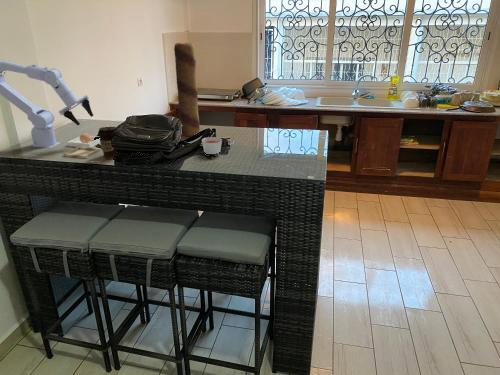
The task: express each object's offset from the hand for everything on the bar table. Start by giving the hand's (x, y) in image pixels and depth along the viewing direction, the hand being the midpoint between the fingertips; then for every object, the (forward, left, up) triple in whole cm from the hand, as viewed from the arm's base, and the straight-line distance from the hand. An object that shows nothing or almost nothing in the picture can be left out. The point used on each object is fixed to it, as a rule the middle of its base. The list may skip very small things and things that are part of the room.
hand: (85, 120), depth 179 cm
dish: (-3, +1, -12) cm, 13 cm away
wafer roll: (+38, +31, -12) cm, 51 cm away
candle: (+59, +4, -12) cm, 61 cm away
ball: (-3, +1, -12) cm, 12 cm away
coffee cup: (+18, -12, -12) cm, 25 cm away
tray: (+4, -12, -12) cm, 17 cm away
